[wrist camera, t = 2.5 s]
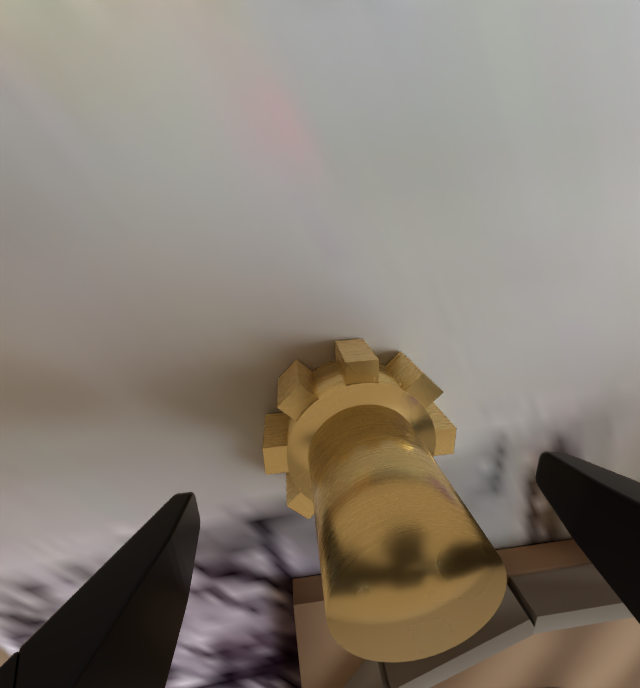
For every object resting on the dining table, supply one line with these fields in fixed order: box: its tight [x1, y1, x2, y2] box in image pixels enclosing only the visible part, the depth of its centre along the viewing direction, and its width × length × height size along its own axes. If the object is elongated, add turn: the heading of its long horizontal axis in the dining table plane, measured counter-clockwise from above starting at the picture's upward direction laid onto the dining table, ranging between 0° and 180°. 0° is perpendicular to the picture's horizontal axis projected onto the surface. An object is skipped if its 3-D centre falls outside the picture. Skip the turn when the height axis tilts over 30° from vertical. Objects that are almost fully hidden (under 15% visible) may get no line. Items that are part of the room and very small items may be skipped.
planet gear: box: [263, 339, 507, 662], centre depth 8 cm, size 6×6×6 cm
